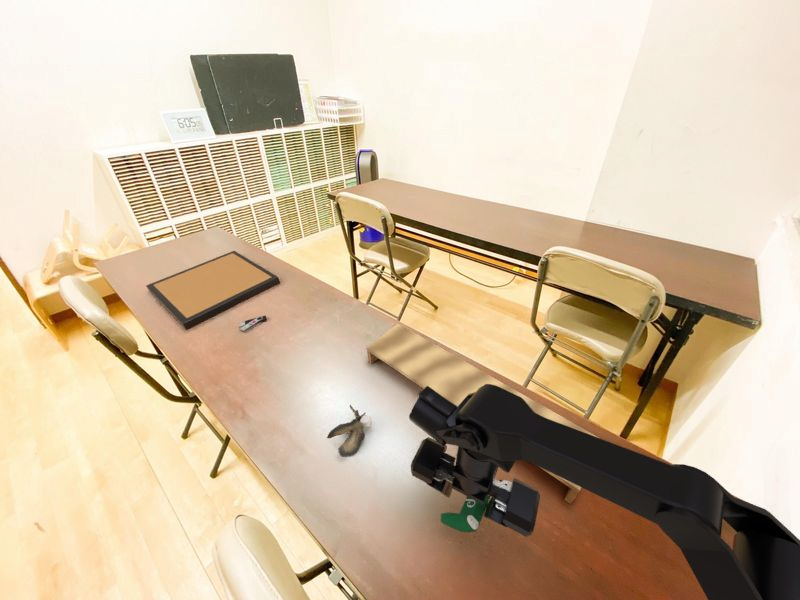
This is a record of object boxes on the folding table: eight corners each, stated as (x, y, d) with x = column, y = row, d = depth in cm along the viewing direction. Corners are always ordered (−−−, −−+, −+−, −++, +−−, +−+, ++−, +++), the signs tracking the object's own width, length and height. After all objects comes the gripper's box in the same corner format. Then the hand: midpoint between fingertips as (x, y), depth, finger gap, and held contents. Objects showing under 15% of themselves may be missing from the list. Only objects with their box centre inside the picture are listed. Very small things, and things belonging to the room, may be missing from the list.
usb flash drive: (266, 316, 110) (265, 314, 109) (268, 325, 106) (267, 323, 105) (239, 324, 107) (238, 322, 106) (240, 334, 103) (239, 331, 102)
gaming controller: (450, 534, 53) (477, 542, 49) (436, 518, 53) (462, 525, 48) (472, 485, 59) (498, 488, 55) (460, 470, 59) (485, 471, 55)
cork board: (236, 256, 145) (149, 291, 124) (234, 250, 144) (145, 285, 123) (280, 283, 127) (186, 330, 106) (278, 277, 125) (182, 323, 104)
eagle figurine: (342, 411, 78) (320, 440, 71) (356, 398, 74) (334, 426, 67) (365, 433, 78) (346, 463, 70) (380, 421, 74) (361, 452, 66)
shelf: (591, 454, 69) (601, 439, 66) (570, 504, 62) (580, 490, 58) (398, 338, 100) (398, 323, 96) (368, 362, 92) (366, 347, 88)
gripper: (557, 438, 47) (533, 486, 56) (438, 390, 54) (435, 440, 64) (544, 515, 39) (519, 556, 48) (408, 446, 47) (409, 493, 56)
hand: (467, 504), depth 54 cm, fingers closed on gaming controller, 6 cm apart
